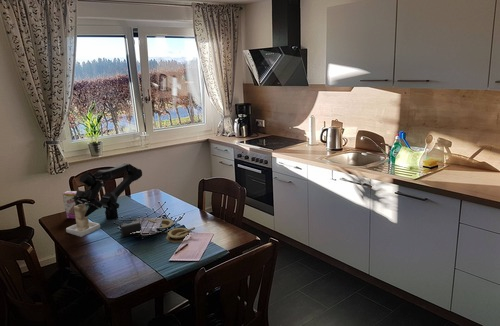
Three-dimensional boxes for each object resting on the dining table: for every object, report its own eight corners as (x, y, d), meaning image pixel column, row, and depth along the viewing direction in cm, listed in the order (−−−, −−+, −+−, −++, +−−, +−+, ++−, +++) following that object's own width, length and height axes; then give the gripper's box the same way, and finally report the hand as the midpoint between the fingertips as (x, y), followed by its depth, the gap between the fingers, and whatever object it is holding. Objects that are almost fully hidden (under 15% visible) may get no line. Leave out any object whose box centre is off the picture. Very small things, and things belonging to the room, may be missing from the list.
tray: (86, 223, 221) (85, 220, 220) (100, 228, 215) (99, 224, 214) (66, 232, 210) (65, 228, 210) (81, 236, 204) (80, 232, 204)
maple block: (84, 226, 215) (80, 203, 212) (89, 228, 213) (85, 204, 210) (77, 229, 212) (73, 206, 208) (82, 231, 210) (78, 207, 206)
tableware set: (141, 231, 211) (140, 221, 209) (172, 220, 224) (171, 211, 222) (170, 248, 190) (169, 237, 188) (201, 235, 203) (201, 225, 201)
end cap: (123, 239, 200) (121, 227, 198) (120, 234, 206) (118, 223, 204) (142, 234, 205) (140, 223, 203) (138, 230, 211) (137, 218, 209)
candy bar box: (66, 218, 229) (61, 193, 225) (71, 215, 234) (67, 190, 230) (82, 219, 227) (78, 193, 223) (87, 216, 232) (83, 191, 228)
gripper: (73, 181, 214) (58, 206, 208) (94, 186, 205) (79, 212, 199) (87, 190, 223) (73, 214, 216) (108, 195, 213) (94, 220, 207)
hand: (79, 215), depth 209 cm, fingers open, 9 cm apart
